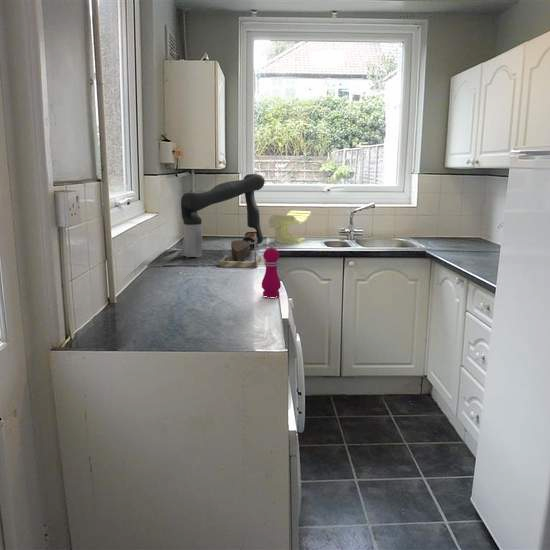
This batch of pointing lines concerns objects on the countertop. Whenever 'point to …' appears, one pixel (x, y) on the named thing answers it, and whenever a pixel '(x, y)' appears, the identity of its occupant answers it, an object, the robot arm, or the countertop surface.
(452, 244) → the countertop surface
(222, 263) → the corral
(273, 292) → the pepper mill
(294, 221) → the slatted curved stool
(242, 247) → the rock
